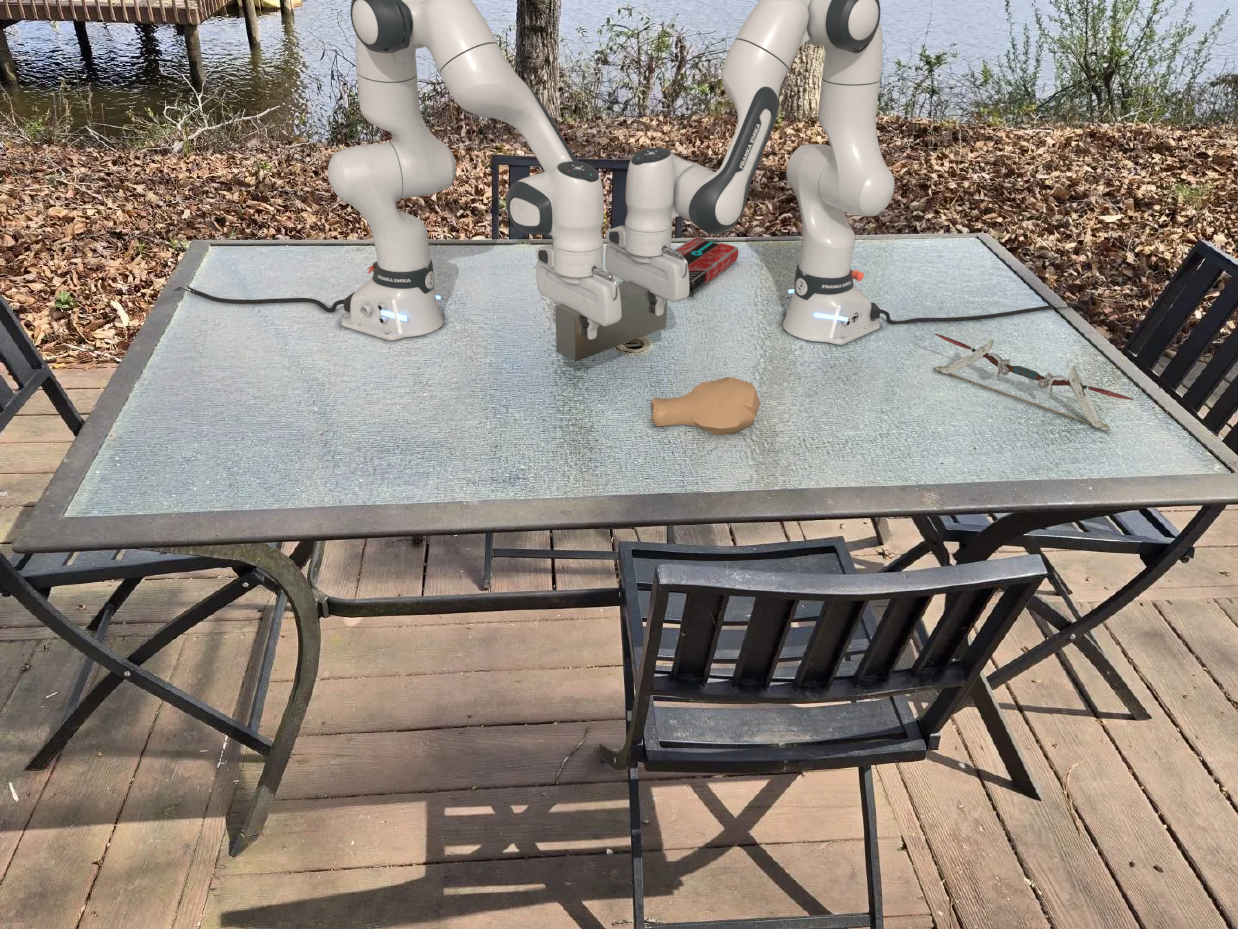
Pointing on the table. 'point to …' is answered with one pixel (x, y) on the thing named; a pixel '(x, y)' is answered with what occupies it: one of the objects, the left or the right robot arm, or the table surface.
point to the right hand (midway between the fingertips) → (645, 308)
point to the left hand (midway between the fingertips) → (578, 331)
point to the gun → (706, 260)
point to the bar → (630, 327)
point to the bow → (1043, 381)
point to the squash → (711, 407)
